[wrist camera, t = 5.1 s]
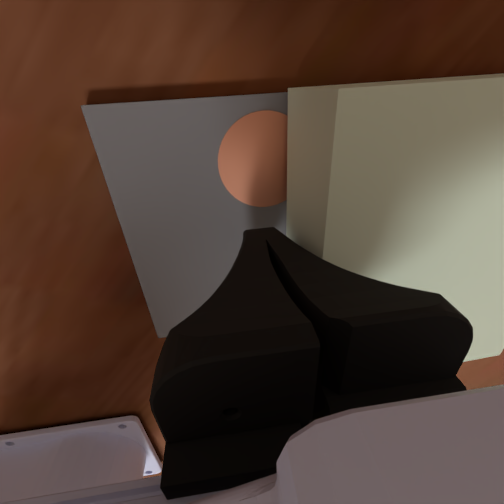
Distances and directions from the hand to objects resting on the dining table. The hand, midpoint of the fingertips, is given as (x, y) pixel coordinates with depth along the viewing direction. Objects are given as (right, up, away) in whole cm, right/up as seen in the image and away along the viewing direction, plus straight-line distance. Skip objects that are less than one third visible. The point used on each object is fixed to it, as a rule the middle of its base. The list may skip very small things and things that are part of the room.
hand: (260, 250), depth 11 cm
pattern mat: (0, +1, +1) cm, 2 cm away
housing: (+6, +1, +1) cm, 6 cm away
